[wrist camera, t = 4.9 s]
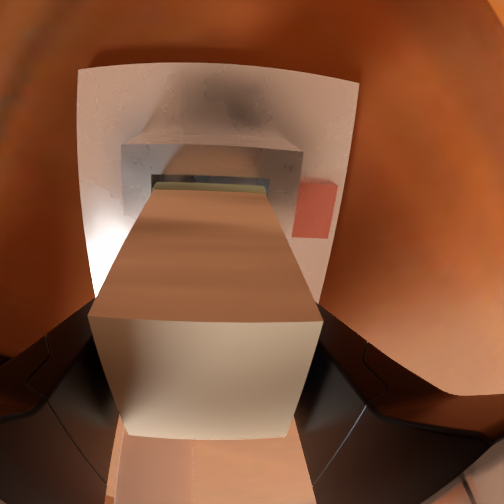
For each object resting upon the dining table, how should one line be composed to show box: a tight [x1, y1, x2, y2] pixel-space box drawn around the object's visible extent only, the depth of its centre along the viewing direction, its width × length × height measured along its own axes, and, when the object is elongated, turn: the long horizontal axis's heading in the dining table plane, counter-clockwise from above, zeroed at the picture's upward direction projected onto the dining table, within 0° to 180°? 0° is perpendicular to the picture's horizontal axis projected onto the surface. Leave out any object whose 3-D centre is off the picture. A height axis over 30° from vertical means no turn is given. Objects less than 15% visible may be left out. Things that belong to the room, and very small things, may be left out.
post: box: [88, 182, 324, 440], centre depth 9 cm, size 4×4×8 cm
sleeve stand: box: [77, 63, 359, 303], centre depth 15 cm, size 14×14×4 cm
